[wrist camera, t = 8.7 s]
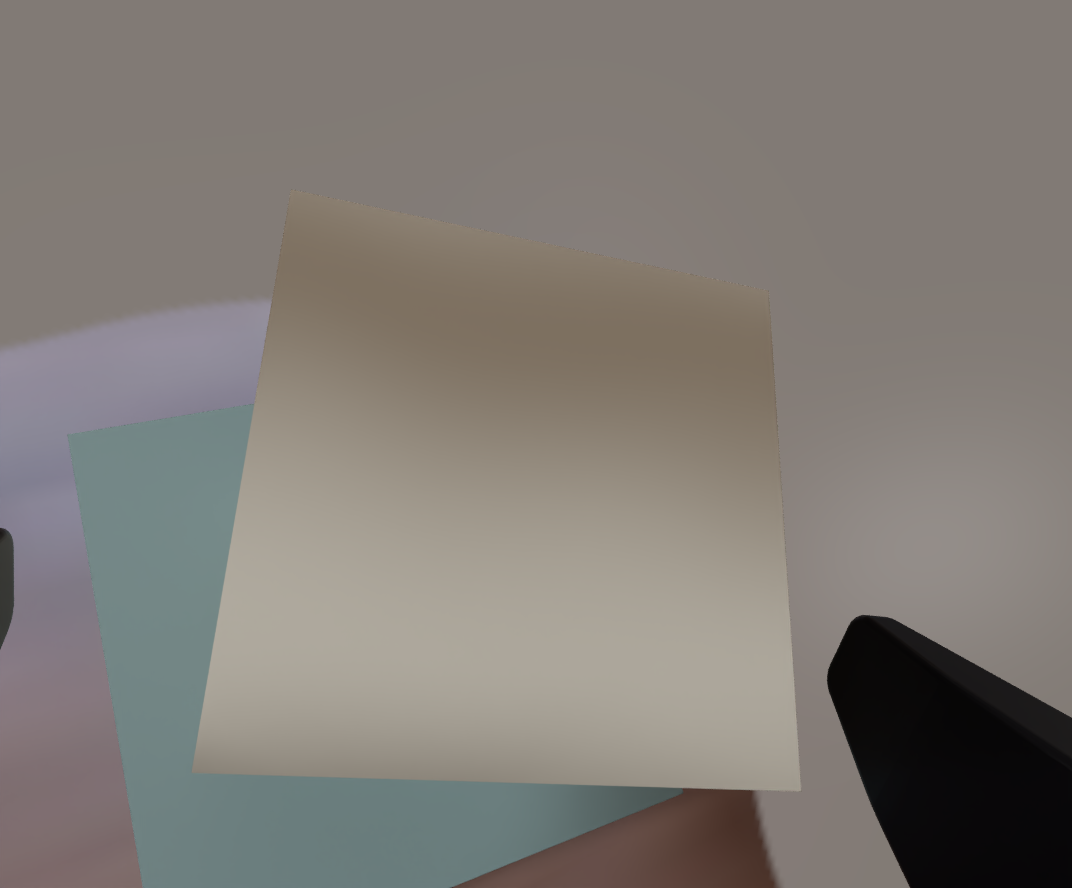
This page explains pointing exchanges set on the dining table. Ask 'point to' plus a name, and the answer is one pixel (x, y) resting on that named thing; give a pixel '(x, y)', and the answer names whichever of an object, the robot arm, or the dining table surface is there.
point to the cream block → (504, 520)
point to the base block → (179, 688)
